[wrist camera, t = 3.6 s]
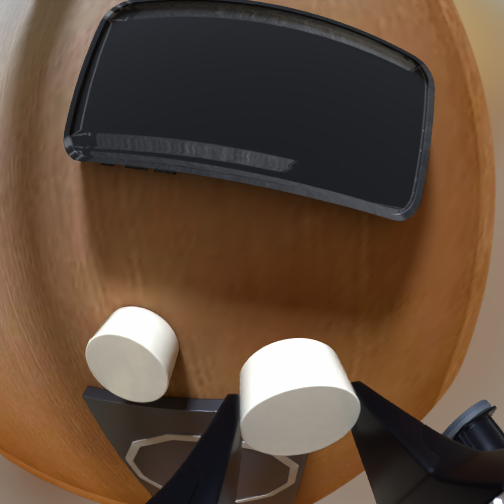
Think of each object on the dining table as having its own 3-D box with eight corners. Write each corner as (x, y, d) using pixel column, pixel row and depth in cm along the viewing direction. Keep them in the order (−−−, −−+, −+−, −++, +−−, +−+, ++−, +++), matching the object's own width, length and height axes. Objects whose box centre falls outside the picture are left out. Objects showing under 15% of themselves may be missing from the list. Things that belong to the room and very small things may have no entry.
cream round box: (172, 306, 12) (157, 335, 9) (185, 373, 13) (176, 406, 10) (98, 304, 12) (73, 329, 9) (117, 367, 13) (101, 397, 10)
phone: (109, 3, 6) (435, 67, 8) (118, 13, 8) (422, 73, 9) (58, 162, 8) (414, 229, 10) (73, 162, 10) (401, 224, 11)
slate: (315, 392, 14) (319, 406, 12) (291, 497, 18) (293, 505, 17) (87, 385, 13) (81, 396, 12) (158, 494, 18) (157, 502, 17)
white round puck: (347, 332, 9) (373, 375, 7) (332, 404, 10) (347, 446, 8) (235, 340, 9) (234, 391, 7) (241, 413, 10) (242, 459, 8)
